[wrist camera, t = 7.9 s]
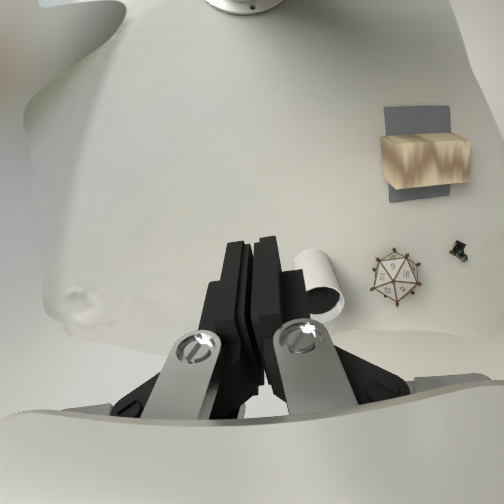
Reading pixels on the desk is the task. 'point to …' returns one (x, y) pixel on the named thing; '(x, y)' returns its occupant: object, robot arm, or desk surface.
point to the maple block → (425, 159)
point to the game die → (395, 276)
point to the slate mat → (417, 123)
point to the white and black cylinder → (320, 285)
